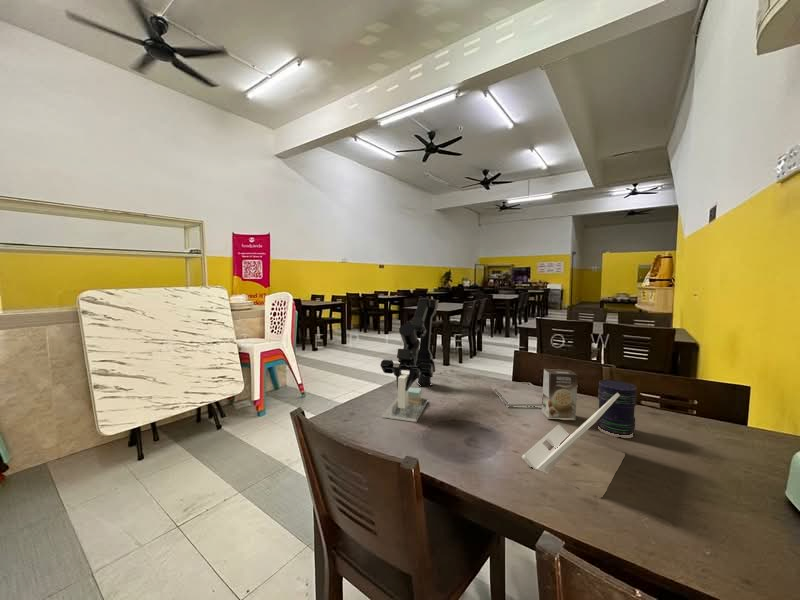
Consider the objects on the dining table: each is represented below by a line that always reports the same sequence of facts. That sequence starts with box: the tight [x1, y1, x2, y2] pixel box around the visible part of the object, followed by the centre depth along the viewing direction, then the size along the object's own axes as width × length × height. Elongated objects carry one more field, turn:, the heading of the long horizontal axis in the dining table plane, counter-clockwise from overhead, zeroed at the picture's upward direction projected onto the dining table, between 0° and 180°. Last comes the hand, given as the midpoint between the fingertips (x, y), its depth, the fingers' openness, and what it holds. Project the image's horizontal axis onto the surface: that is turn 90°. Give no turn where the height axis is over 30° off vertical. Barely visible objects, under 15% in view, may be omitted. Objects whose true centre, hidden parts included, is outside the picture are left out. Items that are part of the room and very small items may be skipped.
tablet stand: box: [521, 393, 620, 474], centre depth 83 cm, size 18×25×17 cm
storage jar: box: [596, 379, 638, 435], centre depth 99 cm, size 10×10×15 cm
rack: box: [381, 396, 429, 423], centre depth 116 cm, size 19×12×3 cm, turn 163°
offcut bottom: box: [408, 394, 422, 403], centre depth 122 cm, size 5×7×2 cm
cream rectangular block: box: [397, 373, 409, 408], centre depth 111 cm, size 4×2×10 cm, turn 163°
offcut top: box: [408, 386, 423, 398], centre depth 122 cm, size 5×7×2 cm
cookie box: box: [541, 368, 579, 420], centre depth 110 cm, size 9×6×16 cm
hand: (402, 389), depth 110 cm, fingers closed on cream rectangular block, 2 cm apart
